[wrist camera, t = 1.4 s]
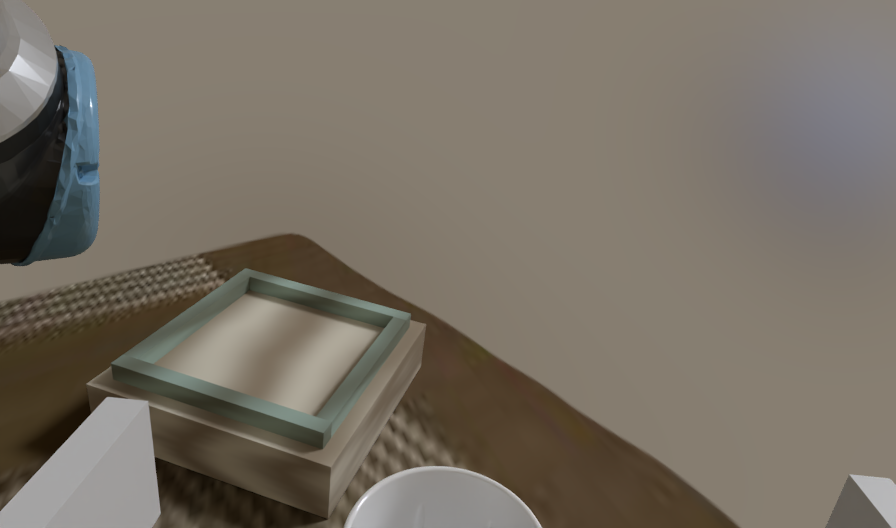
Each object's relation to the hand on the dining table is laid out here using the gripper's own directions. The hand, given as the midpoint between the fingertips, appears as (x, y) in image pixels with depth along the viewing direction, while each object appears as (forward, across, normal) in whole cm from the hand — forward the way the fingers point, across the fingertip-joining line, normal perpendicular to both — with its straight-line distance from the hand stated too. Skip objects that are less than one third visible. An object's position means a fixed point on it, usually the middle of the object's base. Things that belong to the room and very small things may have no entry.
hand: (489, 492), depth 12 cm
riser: (+27, -12, -18) cm, 35 cm away
